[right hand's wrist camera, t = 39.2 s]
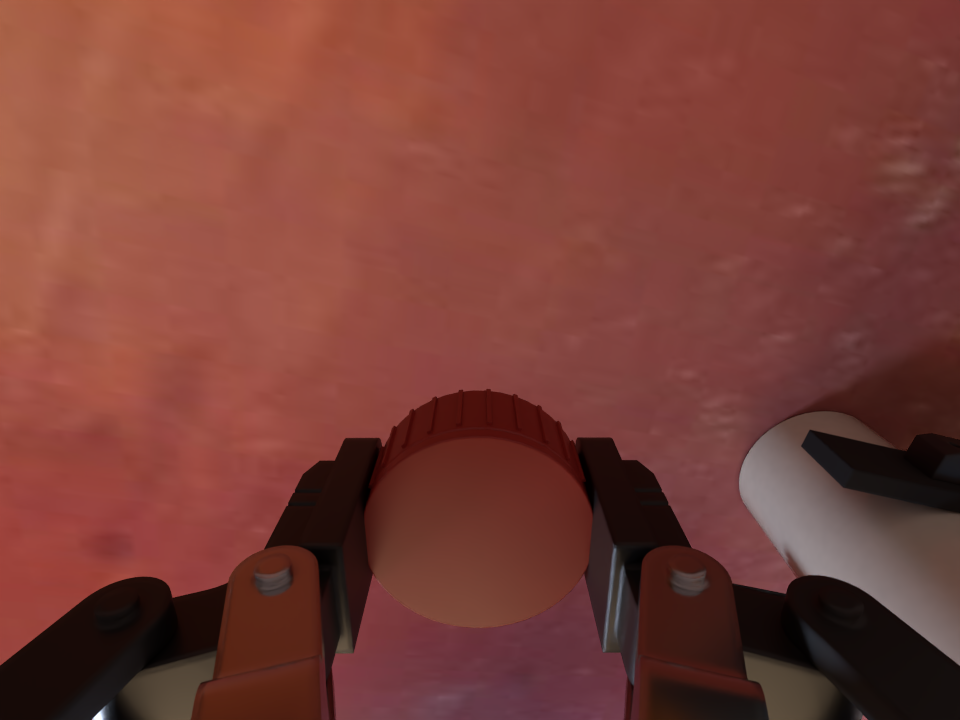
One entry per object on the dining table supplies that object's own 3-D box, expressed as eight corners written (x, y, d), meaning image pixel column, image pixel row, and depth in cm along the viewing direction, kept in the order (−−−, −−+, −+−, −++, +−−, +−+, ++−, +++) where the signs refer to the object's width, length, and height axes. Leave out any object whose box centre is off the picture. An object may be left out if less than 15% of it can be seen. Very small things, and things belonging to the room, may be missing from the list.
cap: (410, 357, 11) (397, 400, 9) (614, 424, 12) (639, 477, 10) (352, 530, 13) (331, 596, 11) (536, 582, 13) (545, 653, 12)
